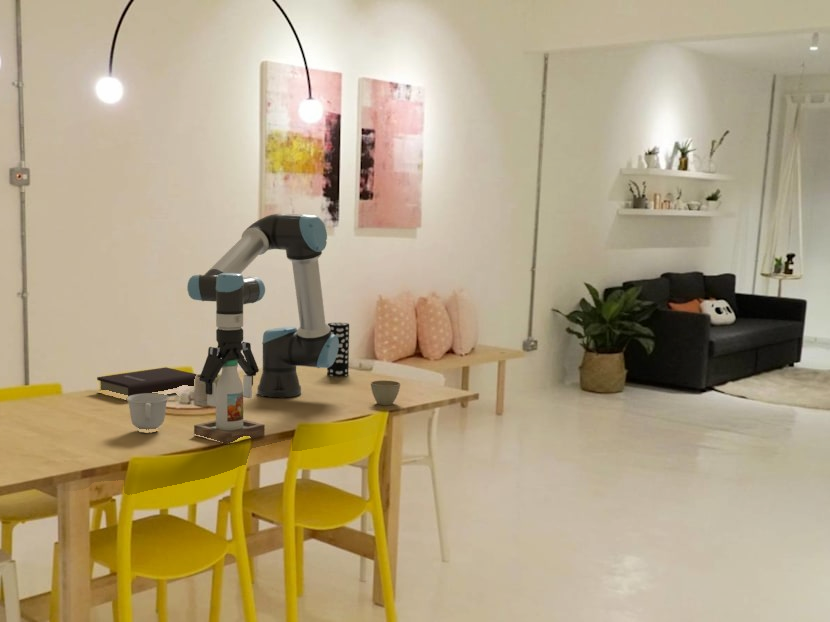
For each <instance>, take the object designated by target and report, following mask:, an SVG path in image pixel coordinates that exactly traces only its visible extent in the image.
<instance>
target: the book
mask: <svg viewBox="0 0 830 622" xmlns="http://www.w3.org/2000/svg"><path fill="white" fill-rule="evenodd" d="M196 375H197V373H194V372H193V373H192V372H188V371H183V370H180V369H175V368H171V367H167V366H165V367H159V368H151V369H144V370H138V371H132V372H131V371H130V372H125V373H118V374H110V375H102V376H97V377H96V379H97V381H99V382H100V391H101V390H109V391H112V392H116V393H120V394H124V395H128V396H131V395H135V394H144V393H152V392H158V391H164V390H168V389H173V388H177V387H179V386H182V385H188V386H194V379H195V376H196Z"/></svg>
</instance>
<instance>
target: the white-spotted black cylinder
mask: <svg viewBox="0 0 830 622" xmlns="http://www.w3.org/2000/svg"><path fill="white" fill-rule="evenodd" d="M327 325H329V326H330V329H331V334H334V335H336V336H337V337H338V340H339V348H338V353H337V357H336V359H335V361H334V363H333V364H332V365H331V366H330V367H328V368H326V370H327V371H326V375H327V376H329V377H332V378H333V377H335V378H336V377H337V378H338V377H347V376H349V367H350V366H349V361H350V360H349V359H350V358H349V355H350V352H349V351H350V323H349V322H329V323H327Z"/></svg>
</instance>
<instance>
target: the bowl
mask: <svg viewBox="0 0 830 622" xmlns="http://www.w3.org/2000/svg"><path fill="white" fill-rule="evenodd" d="M400 388H401V382H399V381H394V380H385V379H384V380H373V381H371V382H370V389H371V391H372V392H371V393H372V395H373V398H374V399H375V402H376V403H377V404H378V405H381V406H391V404H392V405H393V404H394V403H395V400H396V399H397V396H398V395H399V392H400Z"/></svg>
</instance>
